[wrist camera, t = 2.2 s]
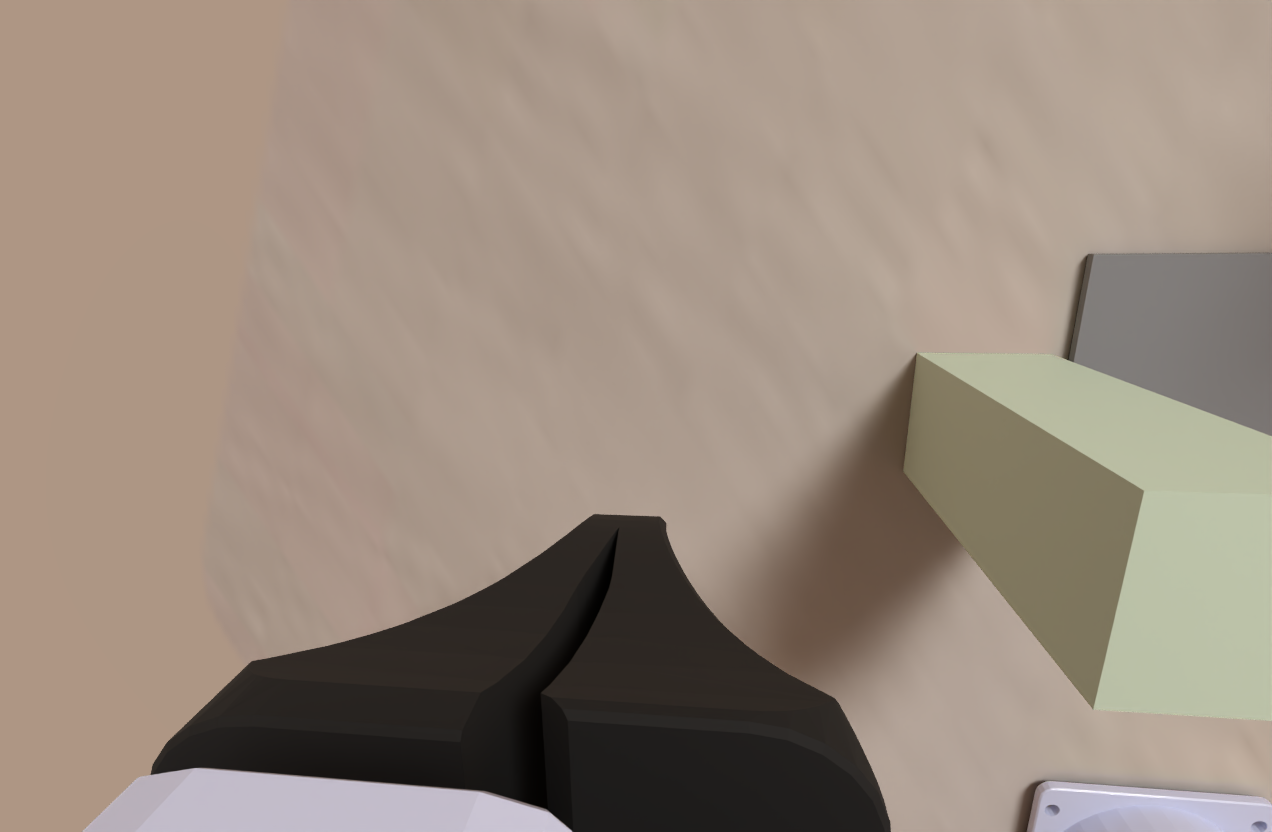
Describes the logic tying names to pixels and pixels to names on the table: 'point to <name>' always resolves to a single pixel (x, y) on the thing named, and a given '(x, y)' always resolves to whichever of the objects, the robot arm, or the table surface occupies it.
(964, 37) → the table surface
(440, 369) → the table surface
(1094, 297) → the mat
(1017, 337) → the table surface
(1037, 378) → the sage block
